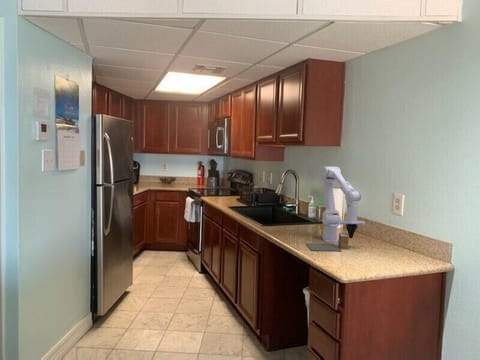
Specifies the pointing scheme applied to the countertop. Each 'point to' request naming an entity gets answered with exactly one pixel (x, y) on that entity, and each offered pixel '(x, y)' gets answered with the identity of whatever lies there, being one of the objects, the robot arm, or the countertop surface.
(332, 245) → the rubber mat
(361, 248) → the countertop surface
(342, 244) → the walnut block
